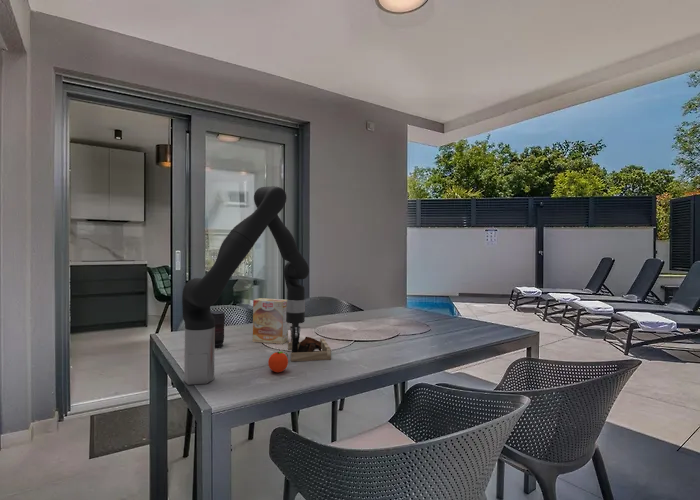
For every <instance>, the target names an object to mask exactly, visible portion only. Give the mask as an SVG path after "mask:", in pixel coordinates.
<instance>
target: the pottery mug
mask: <svg viewBox="0 0 700 500" xmlns="http://www.w3.org/2000/svg"><path fill="white" fill-rule="evenodd" d="M319 341H320V340H317V339H315V338H313V337H310V336H305V337H304V339H302V340H301V341H300V342H301V343H300V345H299V349H298V352H315V351H316V350H318V351H322V350H321V342H319ZM306 345H308V346H306ZM315 348H317V349H315Z"/></svg>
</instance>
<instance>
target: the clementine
mask: <svg viewBox="0 0 700 500" xmlns="http://www.w3.org/2000/svg"><path fill="white" fill-rule="evenodd" d="M288 356H289V355H288V353H287V352H284V351H277V352H274V353H272V354H271V355H270V356H269V358H268V363H267V364H268V365H267V366H268V368H269V369H270V370H271V371H272V372H274V373H281V372H283V371H285V370H286V368H287V367H288V364H289V359H288Z"/></svg>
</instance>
